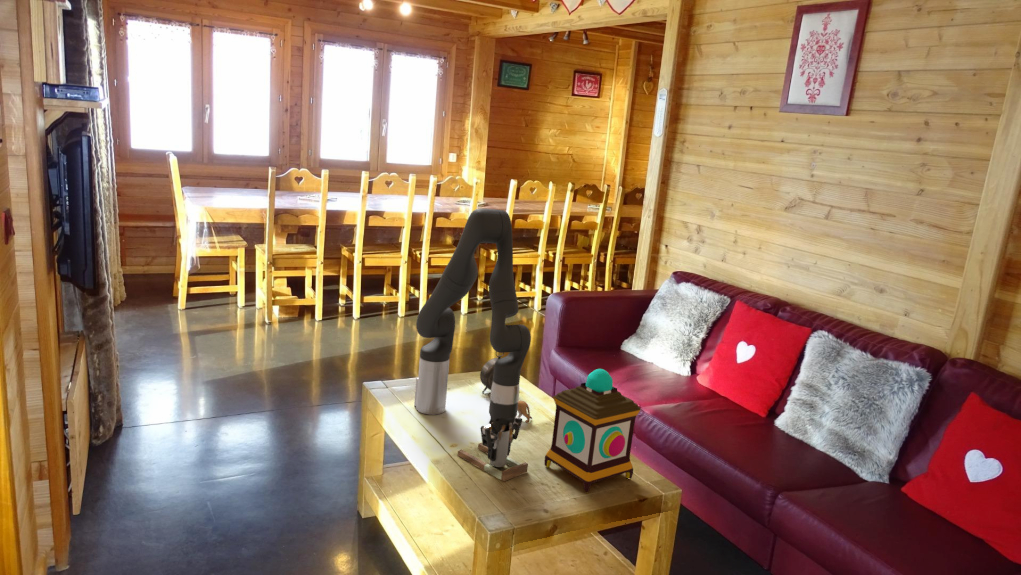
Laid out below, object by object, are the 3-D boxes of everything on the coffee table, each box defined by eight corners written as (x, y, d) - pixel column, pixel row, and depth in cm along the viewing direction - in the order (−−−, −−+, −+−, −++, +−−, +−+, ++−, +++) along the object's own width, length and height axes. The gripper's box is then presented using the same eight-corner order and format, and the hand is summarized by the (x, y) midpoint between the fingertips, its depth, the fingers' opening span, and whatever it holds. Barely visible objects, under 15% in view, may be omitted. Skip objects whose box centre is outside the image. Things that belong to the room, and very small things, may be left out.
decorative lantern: (536, 465, 202) (548, 361, 195) (588, 451, 214) (601, 353, 207) (586, 498, 187) (600, 387, 180) (639, 481, 199) (655, 376, 192)
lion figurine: (491, 426, 224) (494, 398, 222) (485, 419, 229) (488, 392, 227) (535, 423, 230) (538, 396, 228) (528, 416, 235) (531, 389, 233)
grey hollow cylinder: (504, 468, 196) (508, 432, 193) (487, 465, 196) (491, 429, 194) (507, 461, 200) (511, 426, 198) (491, 458, 201) (495, 423, 199)
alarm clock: (505, 388, 257) (510, 344, 253) (513, 394, 252) (518, 349, 249) (477, 391, 251) (482, 346, 248) (485, 397, 247) (489, 351, 243)
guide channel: (457, 455, 203) (458, 447, 202) (480, 447, 209) (481, 439, 209) (503, 481, 191) (504, 472, 190) (527, 472, 197) (528, 463, 197)
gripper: (513, 388, 202) (507, 445, 205) (475, 398, 191) (469, 459, 195) (533, 397, 197) (526, 455, 200) (495, 408, 186) (489, 470, 190)
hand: (498, 457), depth 198 cm, fingers closed on grey hollow cylinder, 4 cm apart
